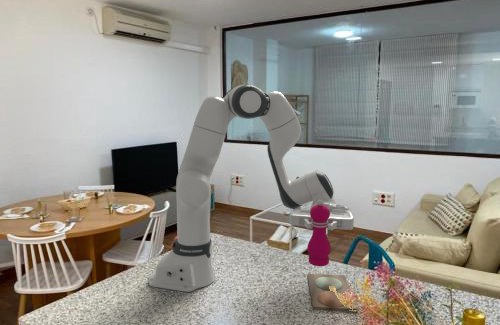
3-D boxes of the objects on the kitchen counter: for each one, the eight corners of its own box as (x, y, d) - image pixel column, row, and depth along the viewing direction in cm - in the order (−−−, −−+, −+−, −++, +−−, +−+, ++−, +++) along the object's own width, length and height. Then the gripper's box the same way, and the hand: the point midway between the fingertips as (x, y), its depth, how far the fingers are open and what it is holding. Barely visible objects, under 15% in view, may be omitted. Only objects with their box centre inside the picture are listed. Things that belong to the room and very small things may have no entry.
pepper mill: (330, 268, 112) (332, 204, 108) (306, 266, 113) (307, 202, 110) (330, 258, 119) (332, 197, 115) (307, 256, 120) (308, 196, 117)
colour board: (312, 309, 111) (312, 305, 110) (307, 276, 132) (307, 272, 132) (357, 312, 110) (357, 308, 109) (344, 278, 131) (344, 274, 131)
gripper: (292, 203, 128) (285, 215, 115) (353, 207, 123) (354, 219, 110) (291, 220, 129) (285, 234, 116) (352, 225, 124) (353, 240, 111)
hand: (319, 227), depth 113 cm, fingers closed on pepper mill, 5 cm apart
